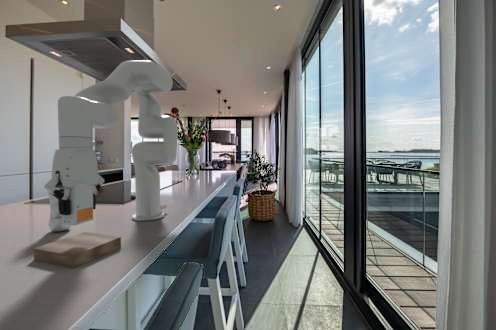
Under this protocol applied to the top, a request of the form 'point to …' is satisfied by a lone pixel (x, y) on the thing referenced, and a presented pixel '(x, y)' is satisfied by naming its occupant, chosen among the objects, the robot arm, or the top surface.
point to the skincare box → (79, 204)
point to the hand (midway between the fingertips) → (78, 211)
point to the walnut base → (77, 249)
